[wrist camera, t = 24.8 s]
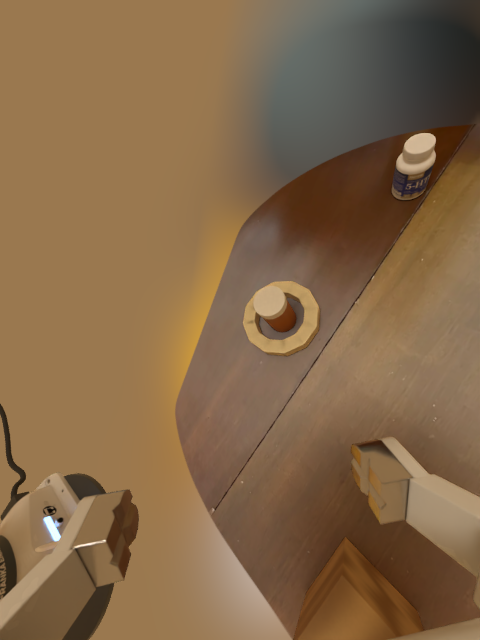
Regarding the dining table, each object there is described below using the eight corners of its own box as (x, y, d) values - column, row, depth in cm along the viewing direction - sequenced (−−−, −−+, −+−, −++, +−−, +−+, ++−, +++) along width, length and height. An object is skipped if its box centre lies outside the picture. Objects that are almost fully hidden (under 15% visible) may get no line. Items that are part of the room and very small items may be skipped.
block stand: (305, 593, 32) (289, 649, 25) (345, 536, 33) (341, 574, 25) (372, 679, 28) (379, 781, 20) (418, 611, 28) (442, 687, 20)
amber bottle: (269, 333, 46) (251, 317, 39) (270, 307, 48) (254, 287, 40) (296, 332, 44) (284, 315, 37) (297, 305, 46) (285, 283, 38)
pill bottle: (403, 206, 44) (413, 163, 36) (385, 189, 46) (391, 146, 39) (433, 188, 43) (450, 140, 35) (413, 172, 45) (424, 124, 38)
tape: (235, 330, 50) (230, 326, 48) (275, 276, 50) (271, 270, 48) (289, 370, 43) (286, 368, 41) (335, 307, 43) (334, 302, 41)
